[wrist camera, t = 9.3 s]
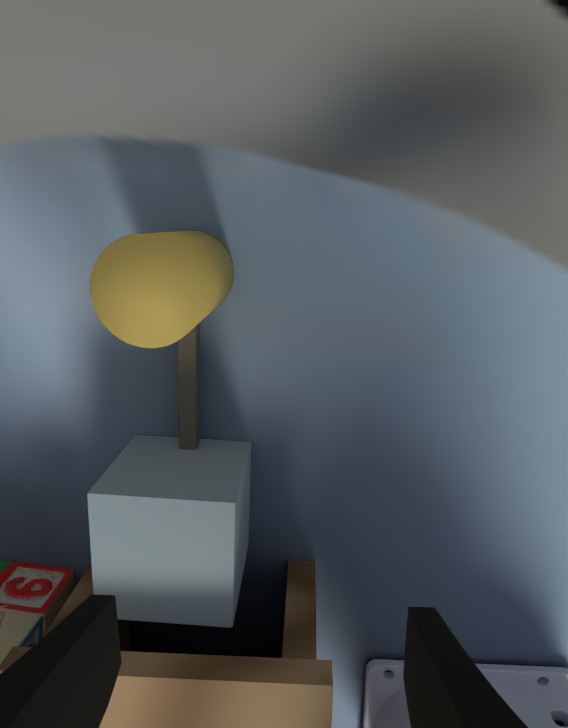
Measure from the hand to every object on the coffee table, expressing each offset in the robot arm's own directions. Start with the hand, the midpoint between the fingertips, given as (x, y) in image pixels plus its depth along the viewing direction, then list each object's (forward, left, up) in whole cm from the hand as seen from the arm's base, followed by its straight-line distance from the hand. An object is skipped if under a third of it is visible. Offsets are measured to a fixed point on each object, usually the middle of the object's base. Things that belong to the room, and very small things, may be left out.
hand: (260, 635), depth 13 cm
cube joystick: (+4, -3, -10) cm, 11 cm away
